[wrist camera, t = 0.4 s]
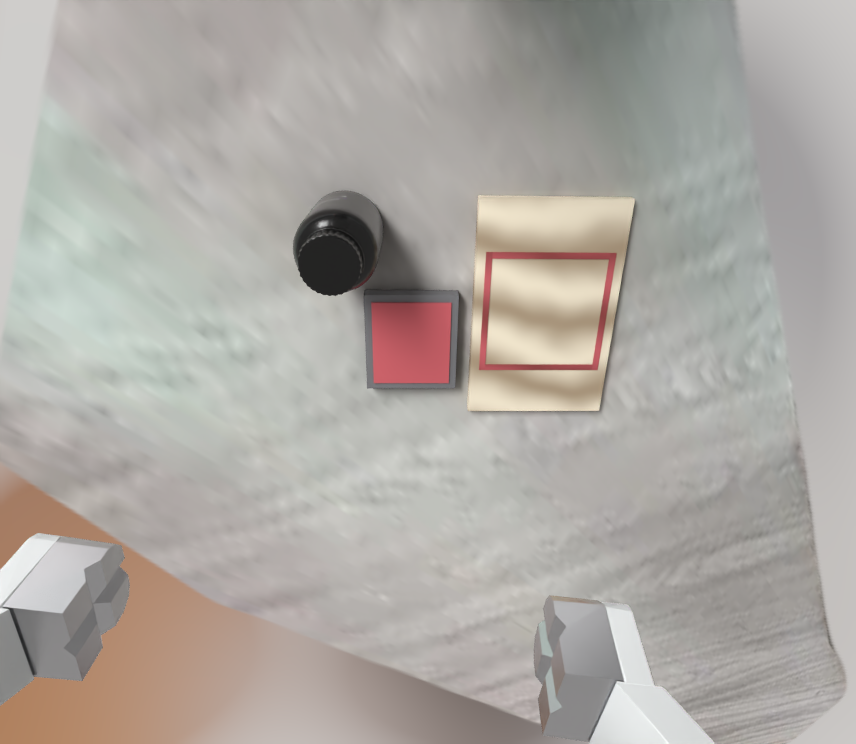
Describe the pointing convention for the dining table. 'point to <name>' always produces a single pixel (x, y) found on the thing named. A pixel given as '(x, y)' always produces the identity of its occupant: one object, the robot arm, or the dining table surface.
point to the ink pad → (411, 338)
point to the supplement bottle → (338, 243)
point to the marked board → (545, 300)
